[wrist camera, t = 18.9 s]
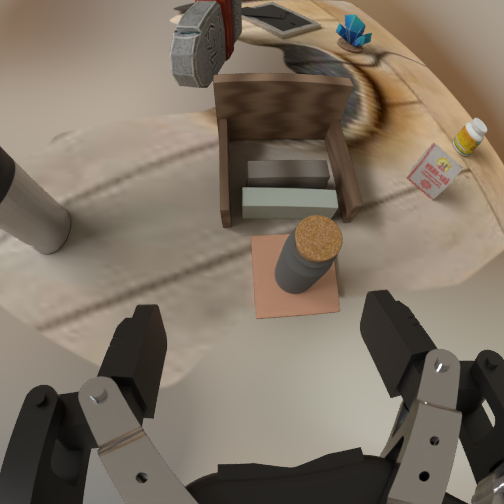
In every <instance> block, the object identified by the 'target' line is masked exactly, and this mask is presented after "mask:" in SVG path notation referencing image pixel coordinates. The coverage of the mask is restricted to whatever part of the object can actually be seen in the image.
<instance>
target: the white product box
mask: <svg viewBox="0 0 504 504" xmlns="http://www.w3.org/2000/svg"><path fill="white" fill-rule="evenodd" d="M461 170H462V167H461V166H460V165H459V164H458V163H457V162H456V161H455V160H454V159H453V158H451V157H450V156H449V155H448V154H447V153H446V152H445V151H443V150H442V149H441V148H440V147H439V146H438V145H436V144H435V143H433V144H432V145H431V147H430V148H428V149H427V150H426V152H425V153H424V154H423V155H422V157H421V158H420V159H419V160H418V162H417V163H416V164H415V165H414V166H413V168H412V170H411V171H410V173H409V175H408V176H407V179H408V180H409V181H411V182H412V183H413V184H414V185H415V186H417V187H418V188H419V189H420V190H421V191H422V192H424V193H425V194H426V195H427V196H428V197H429V198H430V199H432V200H434V199H435V198H436V197H437V196H438V195H439V194H440V193H441V192H442V191H443V190H445V189H446V188H447V187H448V186H449V185H450V183H451V182H452V181H453V180H454V178H455V177H456V176H457V175H458V174H459V172H460V171H461Z"/></svg>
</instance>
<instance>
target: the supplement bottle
mask: <svg viewBox="0 0 504 504" xmlns="http://www.w3.org/2000/svg"><path fill="white" fill-rule="evenodd" d="M486 132H487V128H486V126H485V124H484V123H483V122H482V121H481V120H479V119H478V118H475V119H474V120H473V121H472V122H468V123H467V124H466V125H465V126H464V127H463V128H462V130H461V131H460V132H459V133H458V134H457V136H456V137H455V138H454V139H453V145H454V147H455V149H456V150H457V152H458V153H459V154H461V155H463V156H468V155H470V154H471V152H472V151H473V150H474V149H475V148H476V147H477V146H478V145H479V144H480V143H481V142H482V141H483V138H484V136H483V135H484V134H485V133H486Z"/></svg>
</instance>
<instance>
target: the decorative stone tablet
mask: <svg viewBox="0 0 504 504" xmlns="http://www.w3.org/2000/svg"><path fill="white" fill-rule="evenodd" d="M241 32H242V13H241V0H195V4H194V5H193V6H192V7H191V8H190V9H189V10H188V11H187V12H186V13H185V14H184V15H183V16H182V17H181V19H180V21H179V23H178V25H177V26H176V28H175V31H174V34H173V38H172V43H171V47H170V52H169V56H170V65H171V73H172V74H173V76H174V78H175V79H176V81H177V83H178V84H179V85H180V86H188V87H199V88H207V87H208V86H209V85H210V83H211V82H212V81H213V79H214V75H217V74H218V72H219V70H220V69H221V67H222V65H223V64H224V62H225V61H227V60H228V59H229V58H230V56H231V54H232V52H233V51H234V43H235V42H236V40H237V39H238V37H239V36H240V34H241Z"/></svg>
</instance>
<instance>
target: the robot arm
mask: <svg viewBox="0 0 504 504" xmlns="http://www.w3.org/2000/svg"><path fill="white" fill-rule="evenodd" d="M70 224H71V222H70V216H69V214H68V212H67V211H66V210H65V209H64V208H63V207H62V206H61V205H60V204H59V203H57V202H56V201H55V200H54V199H53V198H52V197H51V196H50V195H49V194H48V193H47V192H46V191H45V190H44V189H43V188H42V187H40V186H39V185H38V184H37V183H36V182H35V181H34V180H33V179H32V178H31V177H30V176H29V175H28V174H27V173H26V172H25V171H24V170H23V169H22V168H21V167H20V166H19V165H18V164H17V163H16V162H15V161H14V160H13V159H12V158H11V157H10V156H9V155H8V154H7V153H6V152H5V151H4V150H3V149H2V148H1V147H0V228H1V229H3V230H4V231H6V232H7V233H9V234H10V235H12V236H14V237H15V238H17V239H19V240H20V241H22V242H24V243H25V244H27V245H28V246H30V247H32V248H34V249H35V250H37V251H39V252H41V253H43V254H50V253H53V252H55V251H57V250H58V249H59V248H60V247H61V246H62V245H63V244H64V242H65V240H66V239H67V237H68V234H69V231H70ZM360 331H361V335H362V338H363V340H364V342H365V344H366V346H367V348H368V350H369V352H370V354H371V356H372V358H373V361H374V363H375V365H376V367H377V369H378V371H379V373H380V375H381V378H382V380H383V382H384V384H385V386H386V388H387V391H388V393H389V395H390V398H393V397H396V396H400V395H401V396H402V398H403V401H402V403H401V405H400V408H399V411H398V414H397V417H396V420H395V423H394V426H393V428H392V431H391V434H390V437H389V439H388V442H387V444H386V446H385V448H384V449H383V451H382V453H381V455H380V457H378V456H372V455H363V453H362V450H361V447H359V448H355V449H350V450H346V451H342V452H337V453H331V454H327V455H325V456H322V457H320V458H318V459H315V460H313V461H310V462H307V463H305V464H302V465H300V466H297V467H293V468H289V467H278V466H271V465H263V464H256V463H251V464H250V463H249V464H218V472H217V473H212V474H209V475H206V476H203V477H201V478H199V479H197V480H195V481H194V482H192V483H190V484H188V485H187V486H186V487H185V486H184V485H183V484H182V483H181V481H180V480H179V479H178V478H177V476H176V475H175V474H174V473H173V471H172V470H171V469H170V467H169V466H168V465H167V463H166V462H165V460H164V459H163V458H162V456H161V455H160V453H159V452H158V451H157V449H156V448H155V446H154V445H153V444H152V442H151V440H150V439H149V437H148V436H147V434H146V433H145V432H144V430H143V428H142V423H143V418H152V419H153V418H154V413H155V407H156V402H157V396H158V390H159V386H160V380H161V375H162V370H163V365H164V361H165V356H166V351H167V337H166V332H165V329H164V325H163V321H162V318H161V314H160V310H159V307H158V305H157V304H152V305H137V307H136V309H135V312H134V314H133V317H132V318H125V319H124V320H123V321H122V322H121V323H120V324H119V325H118V326H117V328H116V330H115V333H114V335H113V339H112V340H111V342H110V347H108V350H107V352H106V355H105V357H104V360H103V362H102V365H101V368H100V370H99V373H98V375H97V377H95V378H92V379H90V380H88V381H87V382H86V383H84V384H83V385H82V387H81V388H80V391H79V392H74V393H67V394H60V395H58V394H57V392H56V391H55V390H54V389H53V388H52V387H50V386H48V385H40V386H37V387H35V388H33V389H32V390H31V391H30V392H29V393H28V394H27V396H26V398H25V400H24V403H23V405H22V408H21V410H20V413H19V416H18V418H17V421H16V424H15V427H14V430H13V433H12V435H11V438H10V441H9V445H8V448H7V451H6V454H5V457H4V461H3V464H2V468H1V472H0V504H83V496H84V488H85V481H86V475H87V469H88V463H89V457H90V452H91V449H92V448H99V450H98V455H99V457H100V459H101V462H102V464H103V465H104V467H105V469H106V471H107V473H108V475H109V477H110V479H111V480H112V482H113V484H114V486H115V487H116V489H117V491H118V493H119V494H120V496H121V498H122V499H123V501H124V502H125V504H468V503H466V502H464V501H462V500H460V499H458V498H456V497H454V496H452V495H450V494H448V493H447V492H446V488H447V485H448V481H449V478H450V474H451V470H452V466H453V462H454V457H455V453H456V448H457V443H458V438H459V439H460V441H461V443H462V446H463V448H464V451H465V453H466V456H467V459H468V461H469V464H470V467H471V469H472V472H473V475H474V478H475V481H476V483H477V487H476V490H475V494H474V495H473V497H472V499H471V503H472V504H504V360H503V358H502V357H501V356H500V355H499V354H498V353H496V352H494V351H491V350H483V351H481V352H480V353H479V354H478V356H477V358H476V359H475V361H459V360H458V359H457V357H456V356H455V355H454V354H452V353H451V352H449V351H447V350H444V349H437V347H436V346H435V344H434V343H433V341H432V340H431V338H430V337H429V336H428V334H427V333H426V331H425V330H424V328H423V327H422V326H421V325H420V323H419V321H418V320H417V319H416V318H415V316H414V314H413V313H412V312H411V310H410V309H409V308H408V307H407V306H405V305H404V304H402V303H401V302H400V301H395V300H394V298H393V297H392V295H391V294H390V293H389V291H388V290H379V291H370V292H368V293H367V296H366V300H365V304H364V309H363V313H362V318H361V322H360ZM485 399H486V401H487V402H488V404H489V406H490V408H491V410H492V412H493V414H494V416H495V426H494V427H493V426H492V424H491V422H490V420H489V418H488V416H487V414H486V412H485V410H484V408H483V406H482V403H483V402H484V400H485Z"/></svg>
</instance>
